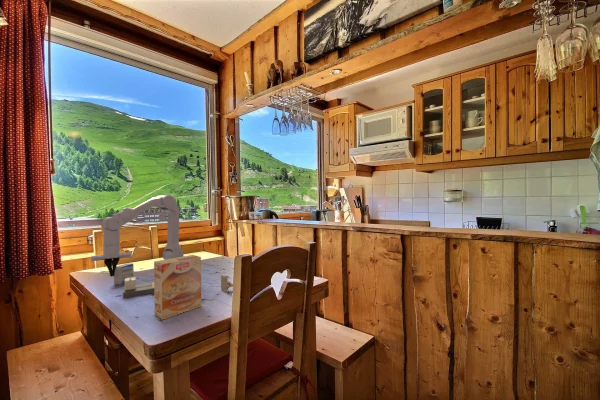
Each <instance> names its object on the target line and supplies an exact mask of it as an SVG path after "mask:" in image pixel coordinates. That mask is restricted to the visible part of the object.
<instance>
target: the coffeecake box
mask: <svg viewBox="0 0 600 400" xmlns="http://www.w3.org/2000/svg"><path fill="white" fill-rule="evenodd" d="M153 271H154V272H153V278H154V279H153V282H154V293H153V294H154V296H153V297H154V315H155V316H157V317H158V318H159V319H160V318H161V319H160V320H163V319H164V320H165V319H169V318H173V317H174V316H178V315H180V313H181V314H183V312H184V313H186V311H187V312H189V310H190V311H193V310H195V308H196V309H198V307H199V308H201V307H202V257H201V256H200V255H199V256H198V255H194V254H189V255H183V257H177V258H171V259H166V260H164V259H161V260H155V261H153ZM192 309H193V310H192ZM177 314H178V315H177Z"/></svg>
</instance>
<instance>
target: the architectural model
mask: <svg viewBox="0 0 600 400" xmlns="http://www.w3.org/2000/svg"><path fill="white" fill-rule="evenodd" d="M228 279H229V275H225V276H224V275H220V291H221V292H223V293H225V294H226V293H227V294H228V290H229V288H232V287H233V288H234V286H233V284H234V283H232V282H231V281H228Z"/></svg>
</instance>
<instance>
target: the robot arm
mask: <svg viewBox="0 0 600 400" xmlns="http://www.w3.org/2000/svg"><path fill="white" fill-rule="evenodd" d="M155 207H156V208H159V209H160V210H163V211H164V212H166V214H167V228H166V229H167V234H166V235H167V236H166V238H167V240H166V241H167V242H166V245H165V246H164V251H163V252H162V258H163V259H162V260H166V259H171V258H177V257H183V256H184V252H183V247H182V246H181V244H180V241H179V240H180V207H179V206H178V204H177V199H176V198H175V197H174V196H172V195H170V194H166V195H160V194H158V195H156V196H153V197H150V198H149V199H148V200H146V201H144V202H142V203H139V205H137V206H135V207H133V208H132V207H123V208H122V210H121V211H118V212H117V213H112V216H107V217H105V218H103V220H102V221H101V222H100V227H101V228H102V229H103V254H98V255H91V256H90V262H97V261H104V263H103V264H105V266H106V268H107V270H108V272H109V277H114V275H115V269H116V267H117V266H118V264H119V262H120V259H127V258H132V257H133V253H132V252H121V244H120V243H121V241H120V240H121V237H120V236H121V235H120V229H121V228H122V226H124V225H126V224H128V223H129V222H133V220H135V219H136V218H137V216H138V215H139V214H141V213H143V212H145V211H148V210H149V209H152V208H155Z"/></svg>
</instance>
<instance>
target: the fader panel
mask: <svg viewBox="0 0 600 400" xmlns="http://www.w3.org/2000/svg"><path fill="white" fill-rule="evenodd" d="M149 294H154V281H152V282H146V283H140V284H136V289H131V290H125V286H124V288H123V292H122V297H123V298H130V297H136V296H143V295H149Z"/></svg>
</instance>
